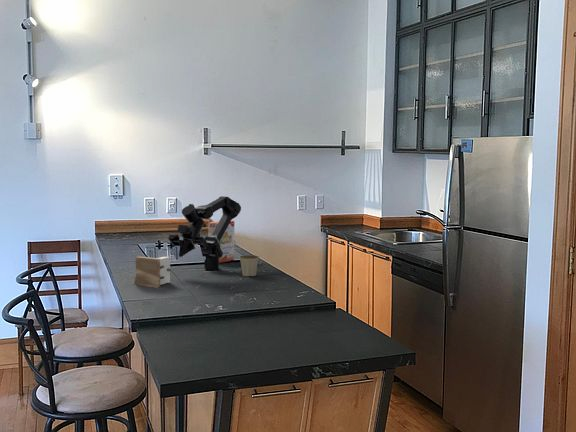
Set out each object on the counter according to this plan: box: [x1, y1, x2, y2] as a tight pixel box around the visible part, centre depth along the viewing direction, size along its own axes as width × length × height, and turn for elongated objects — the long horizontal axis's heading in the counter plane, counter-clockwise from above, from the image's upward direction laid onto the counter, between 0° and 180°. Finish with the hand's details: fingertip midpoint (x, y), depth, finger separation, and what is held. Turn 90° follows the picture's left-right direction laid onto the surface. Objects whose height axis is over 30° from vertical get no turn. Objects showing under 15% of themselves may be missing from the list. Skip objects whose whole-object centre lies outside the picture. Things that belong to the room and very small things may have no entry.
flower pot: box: [238, 254, 260, 277], centre depth 297 cm, size 9×9×9 cm
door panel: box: [156, 256, 172, 286], centre depth 276 cm, size 8×4×11 cm, turn 152°
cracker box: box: [207, 220, 235, 264], centre depth 331 cm, size 14×6×21 cm, turn 143°
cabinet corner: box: [134, 256, 164, 289], centre depth 279 cm, size 15×14×12 cm
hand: (180, 256), depth 288 cm, fingers closed
